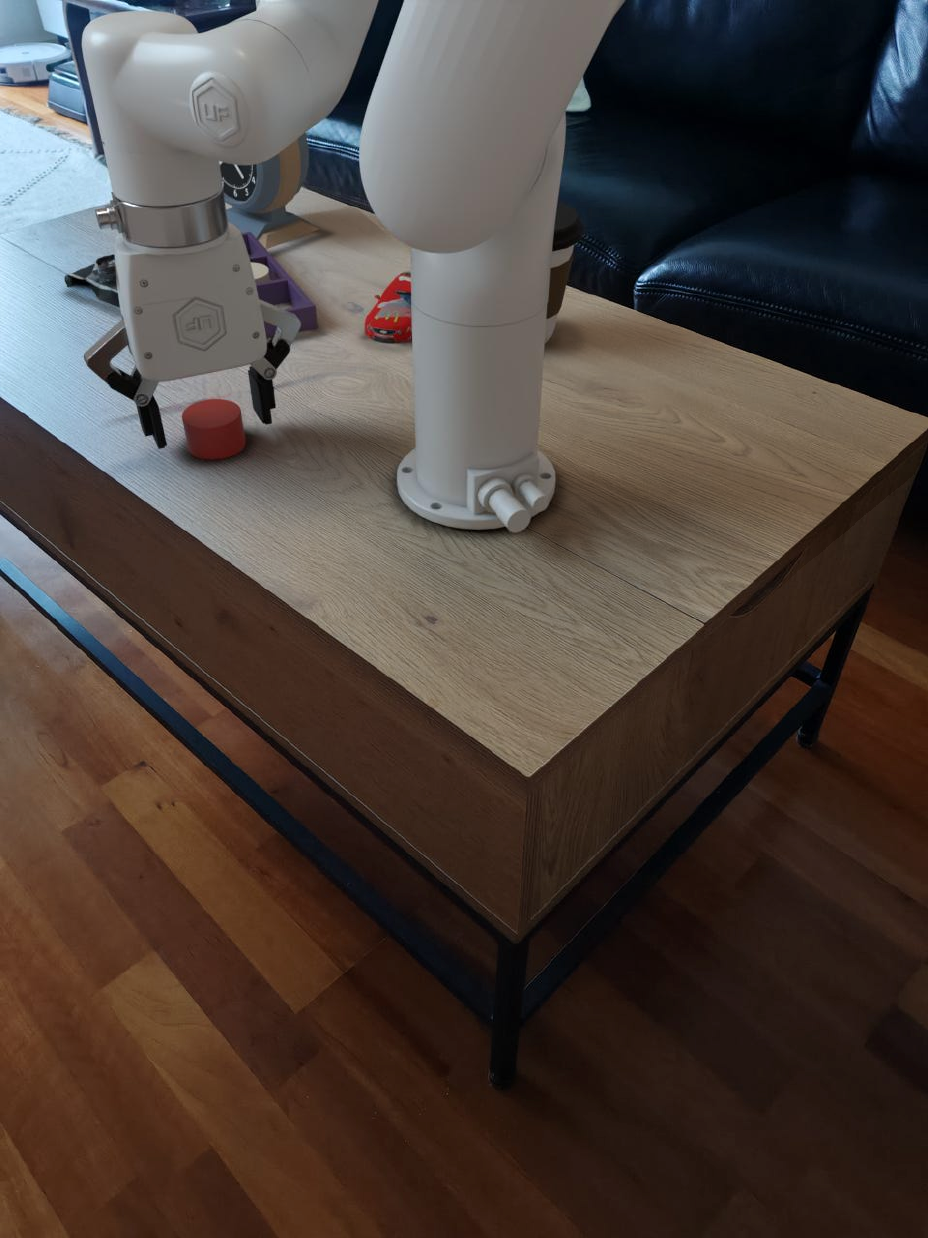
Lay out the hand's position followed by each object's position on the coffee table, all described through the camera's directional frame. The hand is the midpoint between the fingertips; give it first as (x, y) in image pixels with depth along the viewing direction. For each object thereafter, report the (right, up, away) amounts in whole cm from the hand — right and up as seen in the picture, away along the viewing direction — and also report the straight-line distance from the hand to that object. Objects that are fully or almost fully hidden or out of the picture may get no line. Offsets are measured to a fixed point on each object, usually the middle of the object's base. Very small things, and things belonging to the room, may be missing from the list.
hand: (211, 427), depth 81 cm
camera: (-17, +18, +23) cm, 34 cm away
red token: (0, -1, +1) cm, 2 cm away
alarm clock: (-3, +31, +37) cm, 48 cm away
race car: (+15, +15, +19) cm, 28 cm away
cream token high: (-2, +20, +21) cm, 29 cm away
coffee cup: (+27, +12, +17) cm, 34 cm away
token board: (-2, +18, +23) cm, 29 cm away
